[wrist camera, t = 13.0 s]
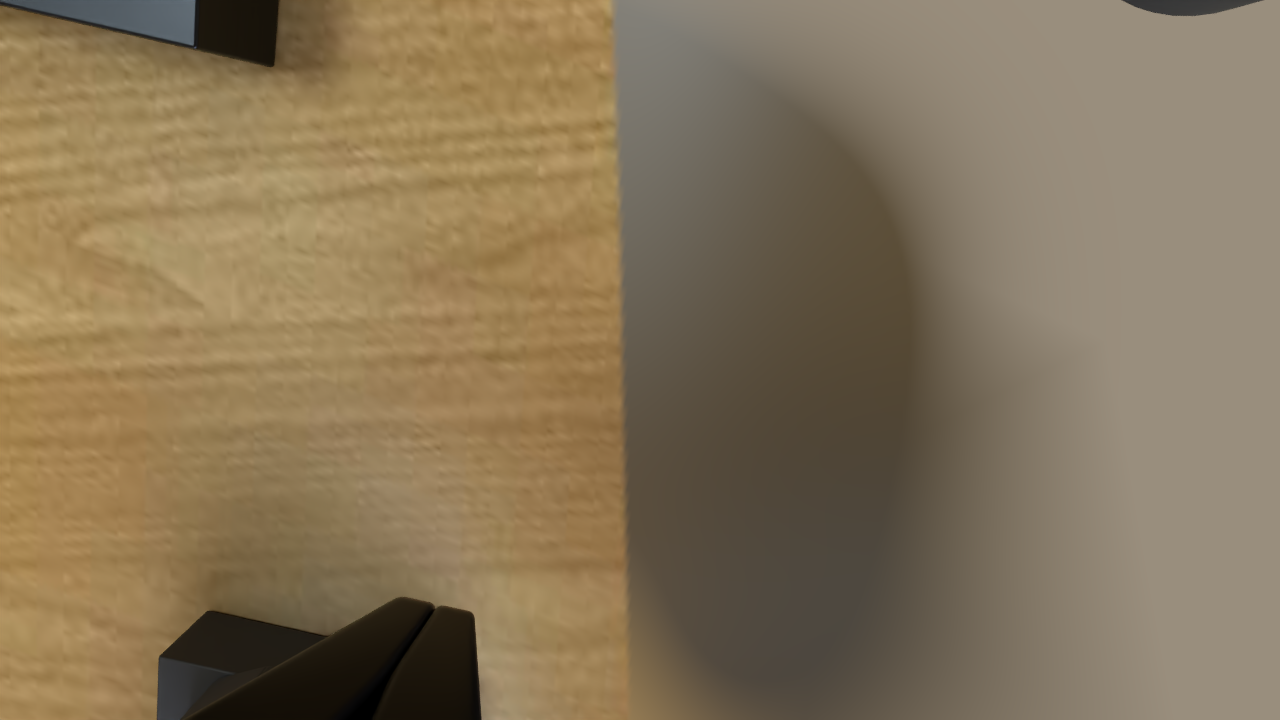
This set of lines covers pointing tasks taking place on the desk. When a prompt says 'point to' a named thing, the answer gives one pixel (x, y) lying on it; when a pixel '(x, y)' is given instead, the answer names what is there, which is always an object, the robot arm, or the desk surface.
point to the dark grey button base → (220, 660)
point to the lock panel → (177, 22)
